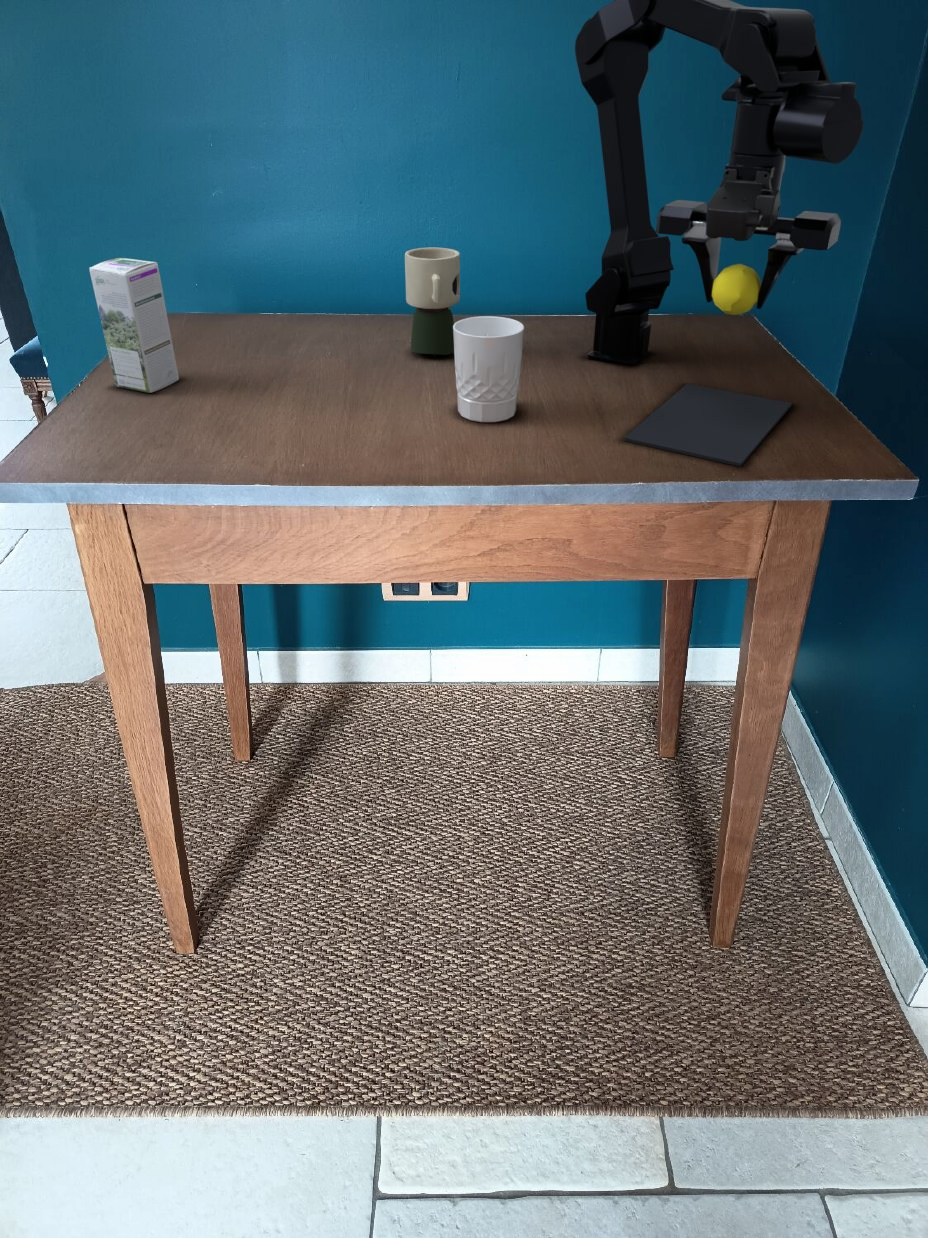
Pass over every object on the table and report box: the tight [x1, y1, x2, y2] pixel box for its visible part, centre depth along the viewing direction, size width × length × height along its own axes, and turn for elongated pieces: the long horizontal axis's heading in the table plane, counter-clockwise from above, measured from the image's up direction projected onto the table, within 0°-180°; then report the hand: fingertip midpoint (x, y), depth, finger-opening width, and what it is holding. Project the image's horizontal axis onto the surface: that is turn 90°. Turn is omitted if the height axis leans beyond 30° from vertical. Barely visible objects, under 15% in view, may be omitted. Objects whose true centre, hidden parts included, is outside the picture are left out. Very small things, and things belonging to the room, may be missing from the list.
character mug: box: [404, 246, 461, 357], centre depth 122 cm, size 11×7×13 cm, turn 8°
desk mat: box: [623, 383, 793, 467], centre depth 105 cm, size 13×20×1 cm, turn 149°
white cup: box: [453, 315, 525, 423], centre depth 105 cm, size 8×8×10 cm
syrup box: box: [88, 257, 180, 394], centre depth 111 cm, size 6×6×14 cm
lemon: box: [712, 263, 762, 316], centre depth 104 cm, size 7×5×5 cm
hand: (734, 304), depth 105 cm, fingers closed on lemon, 5 cm apart
